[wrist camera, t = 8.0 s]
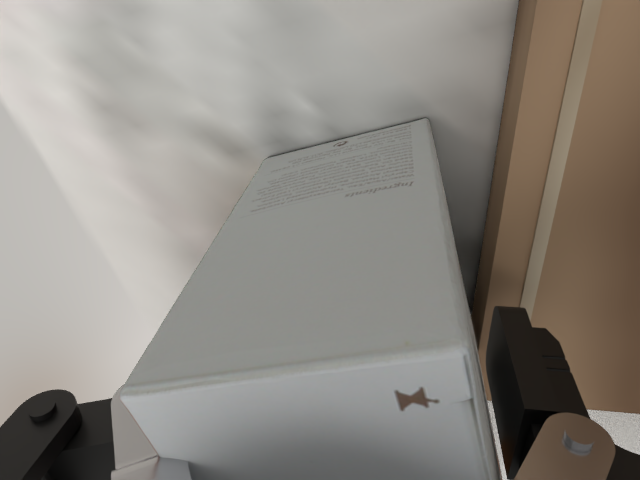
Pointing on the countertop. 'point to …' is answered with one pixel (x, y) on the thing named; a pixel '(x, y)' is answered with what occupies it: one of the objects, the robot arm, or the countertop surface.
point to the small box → (325, 329)
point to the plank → (570, 194)
